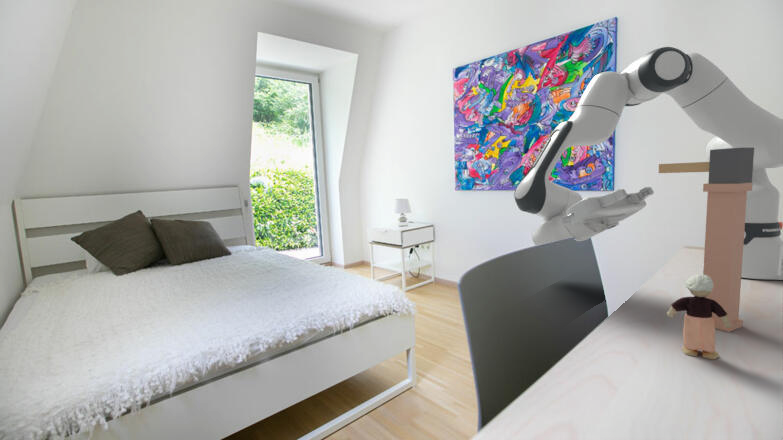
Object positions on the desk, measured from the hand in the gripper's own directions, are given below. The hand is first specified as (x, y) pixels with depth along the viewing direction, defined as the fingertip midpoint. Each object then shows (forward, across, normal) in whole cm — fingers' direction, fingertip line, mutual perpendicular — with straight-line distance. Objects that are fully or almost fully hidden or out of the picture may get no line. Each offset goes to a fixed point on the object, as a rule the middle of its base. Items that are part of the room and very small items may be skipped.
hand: (637, 190), depth 80 cm
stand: (+1, 0, +29) cm, 29 cm away
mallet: (+11, 0, +4) cm, 11 cm away
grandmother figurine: (+4, -16, +31) cm, 35 cm away
